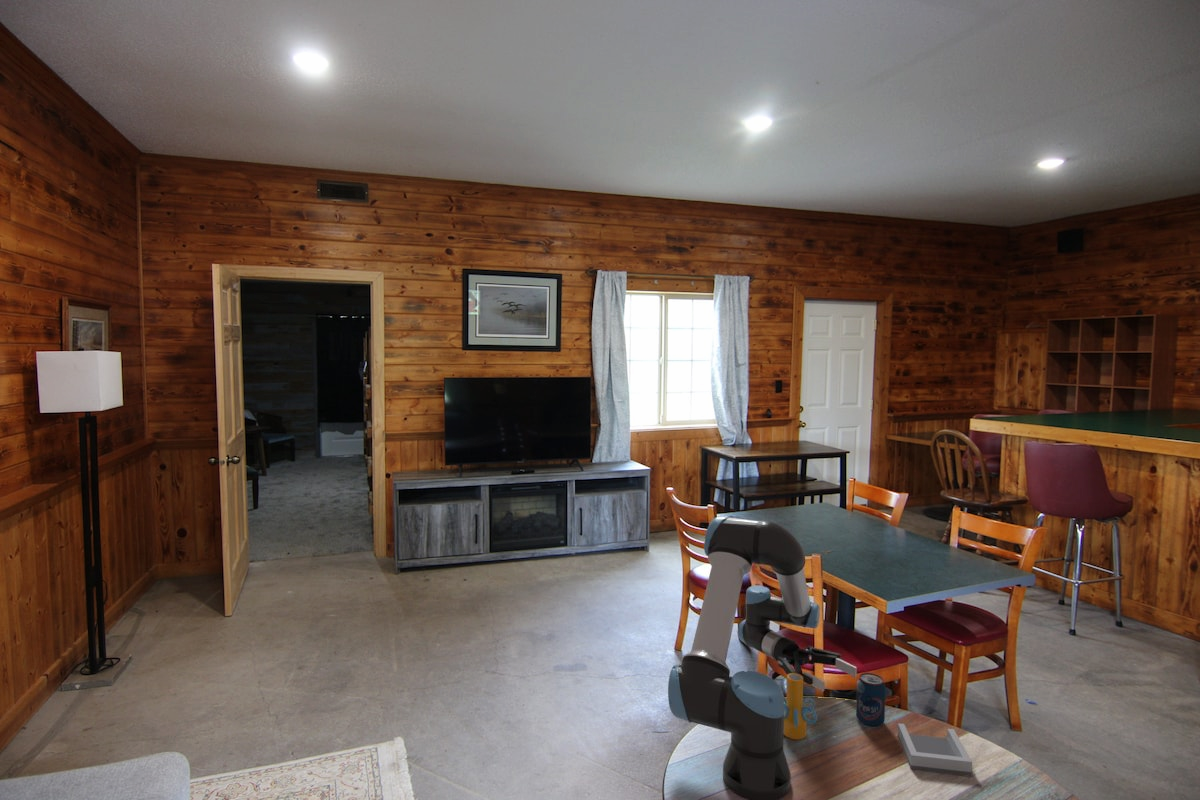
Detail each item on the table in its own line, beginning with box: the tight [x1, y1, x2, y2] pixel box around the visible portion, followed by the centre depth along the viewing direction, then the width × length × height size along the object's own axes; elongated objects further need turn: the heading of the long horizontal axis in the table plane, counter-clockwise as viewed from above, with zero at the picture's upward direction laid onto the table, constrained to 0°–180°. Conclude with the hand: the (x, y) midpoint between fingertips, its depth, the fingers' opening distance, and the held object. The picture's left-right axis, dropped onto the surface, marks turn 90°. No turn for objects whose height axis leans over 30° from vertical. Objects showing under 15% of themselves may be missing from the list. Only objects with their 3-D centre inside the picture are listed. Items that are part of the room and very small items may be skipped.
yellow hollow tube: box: [784, 673, 818, 740], centre depth 167 cm, size 12×10×15 cm
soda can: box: [855, 672, 887, 729], centre depth 172 cm, size 7×7×12 cm
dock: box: [897, 723, 973, 777], centre depth 158 cm, size 13×13×4 cm
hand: (840, 679), depth 180 cm, fingers open, 13 cm apart
